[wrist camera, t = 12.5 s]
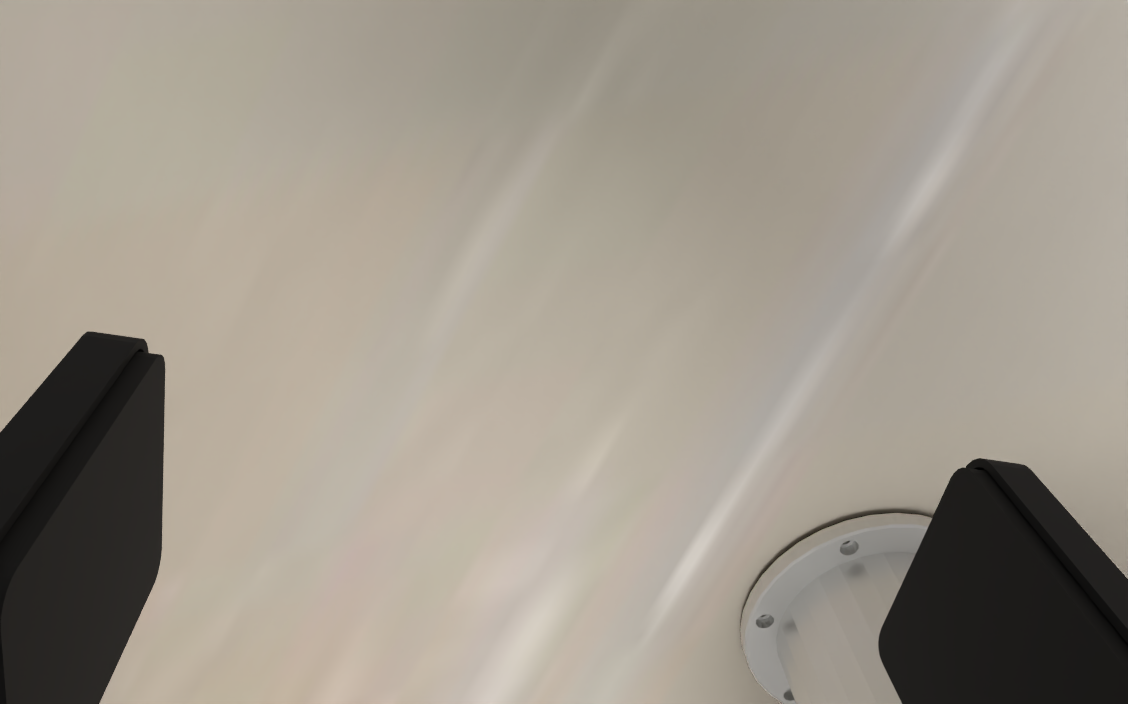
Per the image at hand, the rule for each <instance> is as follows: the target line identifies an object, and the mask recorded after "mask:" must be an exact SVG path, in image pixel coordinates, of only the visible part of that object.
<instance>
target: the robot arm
mask: <svg viewBox="0 0 1128 704" xmlns="http://www.w3.org/2000/svg"><path fill="white" fill-rule="evenodd" d="M164 399H165V362H164V357H163V356H162V355H158V354H151V353H148V347H147V343H146V341H145V340H144V339H139V338H132V337H125V336H118V335H111V334H104V333H97V332H86V333H85V334H84V335H83V336H82V337H81V338H80V339H79V341H78V342H77V343H76V344H75V345H74V346H73V348H72V349H71V350H70V351H69V352H68V354H67V355H66V356H65V357H64V358H63V359H62V361H61V362H60V363H59V364H58V365H57V366H56V368H55V369H54V370H53V371H52V372H51V374H50V375H49V376H48V377H47V378H46V379H45V381H44V382H43V383H42V384H41V385H40V387H39V388H38V389H37V390H36V391H35V392H34V394H33V395H32V396H31V397H30V398H29V399H28V401H27V402H26V403H25V404H24V405H23V407H22V408H21V409H20V410H19V411H18V412H17V414H16V415H15V416H14V417H13V418H12V420H11V421H10V422H9V423H8V424H7V425H6V427H5V428H4V429H3V430H2V431H1V432H0V704H99V703H100V700H101V698H102V696H103V694H104V692H105V690H106V687H107V685H108V683H109V681H110V679H111V677H112V674H113V672H114V670H115V668H116V666H117V664H118V661H119V659H120V657H121V655H122V653H123V650H124V648H125V646H126V644H127V642H128V640H129V637H130V635H131V633H132V631H133V629H134V627H135V624H136V622H137V620H138V618H139V616H140V614H141V611H142V609H143V607H144V605H145V603H146V601H147V598H148V596H149V594H150V592H151V590H152V588H153V585H154V583H155V580H156V577H157V574H158V570H159V565H160V560H161V550H162V504H163V452H164ZM740 634H741V643H742V649H743V651H744V654H745V657H746V661H747V664H748V667H749V669H750V671H751V672H752V674H753V676H754V678H755V679H756V681H757V683H758V684H759V685H760V686H761V687H762V688H763V689H764V690H765V691H766V692H767V693H768V694H769V695H771V696H772V697H774V698H775V699H777V700H778V701H780V702H781V703H783V704H1128V579H1127V578H1126V577H1125V576H1124V575H1123V573H1122V572H1121V571H1120V570H1119V569H1118V568H1117V567H1116V565H1115V564H1114V563H1113V562H1112V561H1111V560H1110V559H1109V558H1108V556H1107V555H1106V554H1105V553H1104V552H1103V551H1102V550H1101V549H1100V547H1099V546H1098V545H1097V544H1096V543H1095V542H1094V541H1093V539H1092V538H1091V537H1090V536H1089V535H1088V534H1087V533H1086V532H1085V530H1084V529H1083V528H1082V527H1081V526H1080V525H1079V524H1078V523H1077V521H1076V520H1075V519H1074V518H1073V517H1072V516H1071V515H1070V513H1069V512H1068V511H1067V510H1066V509H1065V508H1064V507H1063V506H1062V504H1061V503H1060V502H1059V501H1058V500H1057V499H1056V498H1055V497H1054V495H1053V494H1052V493H1051V492H1050V491H1049V490H1048V489H1047V487H1046V486H1045V485H1044V484H1043V483H1042V482H1041V481H1040V480H1039V478H1038V477H1037V476H1036V475H1035V474H1034V473H1033V472H1032V470H1030V469H1029V468H1028V467H1027V466H1025V465H1021V464H1016V463H1009V462H1002V461H995V460H988V459H981V458H979V459H975V460H973V461H971V462H970V463H969V464H968V465H967V466H966V468H960V469H958V470H957V471H956V472H955V473H954V474H953V476H952V477H951V479H950V481H949V483H948V485H947V488H946V490H945V492H944V494H943V496H942V498H941V501H940V503H939V505H938V507H937V509H936V511H935V513H934V516H933V518H930V517H926V516H923V515H916V514H903V513H889V514H876V515H868V516H864V517H859V518H855V519H851V520H846V521H843V522H841V523H838V524H835V525H833V526H830V527H828V528H825V529H822V530H820V531H818V532H816V533H815V534H813V535H811V536H809V537H807V538H806V539H804V540H802V541H800V542H798V543H797V544H796V545H794V546H793V547H792V548H790V549H789V550H788V551H786V552H785V553H784V554H783V555H781V556H780V557H779V558H778V559H777V560H776V561H775V562H774V563H773V564H772V565H771V566H770V567H769V568H768V569H767V570H766V571H765V572H764V573H763V574H762V576H761V577H760V579H759V580H758V582H757V583H756V585H755V586H754V588H753V589H752V591H751V592H750V595H749V597H748V600H747V602H746V605H745V607H744V610H743V613H742V620H741V627H740Z"/></svg>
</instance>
